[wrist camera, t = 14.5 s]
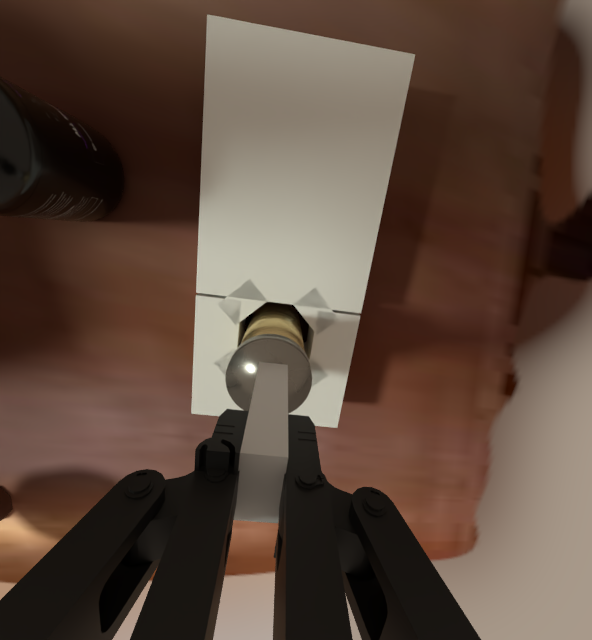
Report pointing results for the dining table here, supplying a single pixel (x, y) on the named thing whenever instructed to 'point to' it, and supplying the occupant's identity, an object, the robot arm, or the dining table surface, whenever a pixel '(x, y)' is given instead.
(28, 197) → the supplement bottle
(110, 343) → the dining table surface
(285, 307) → the gold grey cylinder
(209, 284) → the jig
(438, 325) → the dining table surface
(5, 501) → the ice cream bowl
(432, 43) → the dining table surface
